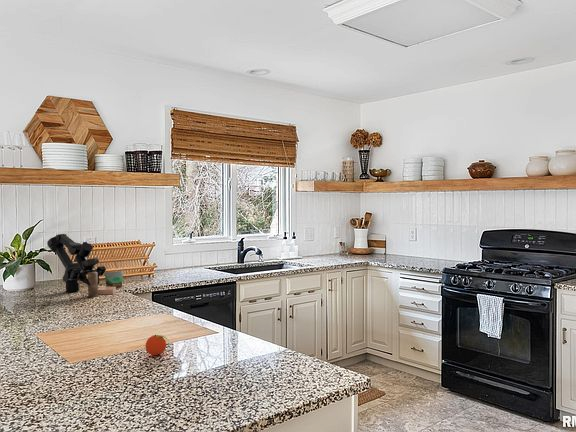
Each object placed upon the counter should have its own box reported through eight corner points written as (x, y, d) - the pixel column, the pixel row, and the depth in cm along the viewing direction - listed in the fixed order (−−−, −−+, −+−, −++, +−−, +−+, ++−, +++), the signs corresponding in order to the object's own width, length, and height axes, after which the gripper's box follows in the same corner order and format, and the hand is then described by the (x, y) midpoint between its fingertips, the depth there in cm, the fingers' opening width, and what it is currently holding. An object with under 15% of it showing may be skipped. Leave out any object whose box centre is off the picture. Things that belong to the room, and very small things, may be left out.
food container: (110, 290, 291) (109, 272, 291) (104, 288, 295) (103, 271, 294) (128, 286, 301) (128, 270, 301) (122, 285, 305) (122, 269, 304)
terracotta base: (96, 294, 278) (96, 290, 278) (99, 291, 287) (99, 287, 287) (113, 293, 279) (112, 289, 279) (116, 290, 288) (115, 286, 288)
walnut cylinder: (87, 297, 270) (86, 273, 270) (89, 295, 275) (88, 272, 275) (96, 297, 271) (96, 273, 270) (98, 295, 276) (98, 271, 275)
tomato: (171, 351, 176) (171, 331, 176) (167, 358, 169) (167, 337, 169) (148, 352, 176) (147, 332, 175) (143, 358, 169) (142, 337, 168)
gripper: (71, 254, 267) (82, 277, 261) (104, 251, 282) (115, 273, 275) (65, 268, 273) (75, 290, 266) (97, 264, 287) (107, 285, 281)
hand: (94, 284), depth 272 cm, fingers closed on walnut cylinder, 5 cm apart
